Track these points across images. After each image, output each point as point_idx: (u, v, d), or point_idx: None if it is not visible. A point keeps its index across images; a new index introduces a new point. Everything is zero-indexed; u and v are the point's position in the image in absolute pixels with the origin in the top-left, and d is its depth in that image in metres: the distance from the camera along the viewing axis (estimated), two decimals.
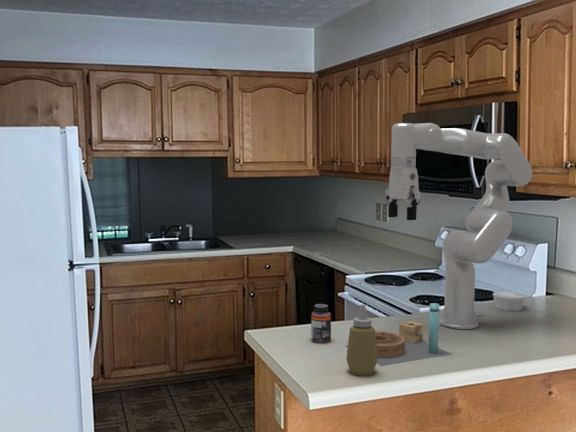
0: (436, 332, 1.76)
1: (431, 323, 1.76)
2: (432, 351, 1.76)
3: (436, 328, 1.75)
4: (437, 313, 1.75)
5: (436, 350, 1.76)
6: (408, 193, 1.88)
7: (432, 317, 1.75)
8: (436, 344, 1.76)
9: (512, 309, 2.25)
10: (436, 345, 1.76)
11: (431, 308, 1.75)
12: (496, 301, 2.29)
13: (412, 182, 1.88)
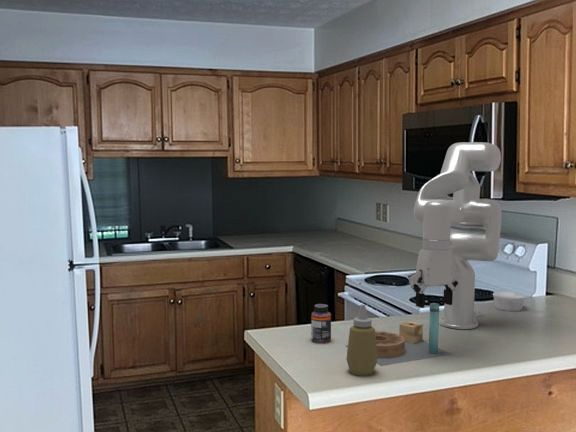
0: (436, 332, 1.76)
1: (431, 323, 1.76)
2: (432, 351, 1.76)
3: (436, 328, 1.75)
4: (437, 313, 1.75)
5: (436, 350, 1.76)
6: None
7: (432, 317, 1.75)
8: (436, 344, 1.76)
9: (512, 309, 2.25)
10: (436, 345, 1.76)
11: (431, 308, 1.75)
12: (496, 301, 2.29)
13: None
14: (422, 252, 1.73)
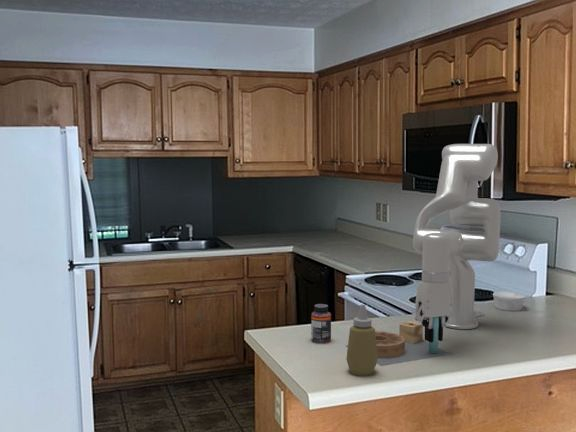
0: (437, 332, 1.76)
1: None
2: (432, 351, 1.76)
3: (436, 328, 1.75)
4: None
5: (436, 350, 1.76)
6: None
7: None
8: (436, 344, 1.76)
9: (512, 309, 2.25)
10: (436, 345, 1.76)
11: None
12: (496, 301, 2.29)
13: None
14: (421, 284, 1.74)
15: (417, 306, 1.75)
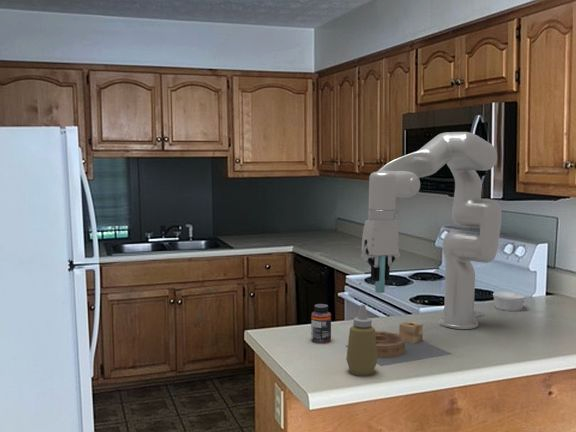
0: (383, 272, 1.75)
1: None
2: (378, 290, 1.76)
3: (382, 267, 1.75)
4: None
5: (382, 289, 1.76)
6: None
7: None
8: (382, 284, 1.76)
9: (512, 309, 2.25)
10: (382, 284, 1.76)
11: None
12: (496, 301, 2.29)
13: None
14: (367, 222, 1.74)
15: (363, 245, 1.75)
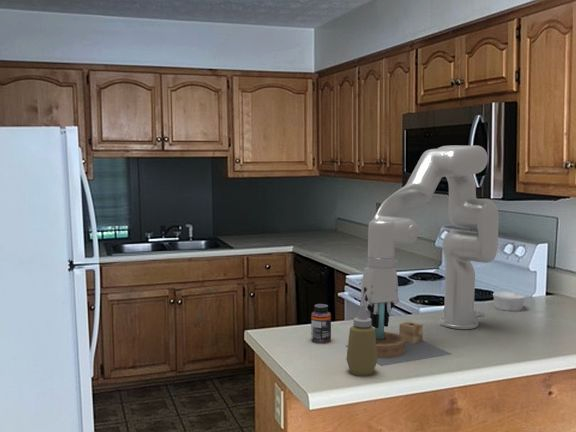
0: (382, 318, 1.77)
1: (377, 309, 1.77)
2: (378, 337, 1.77)
3: (382, 314, 1.77)
4: None
5: (382, 336, 1.77)
6: None
7: (378, 303, 1.76)
8: (381, 330, 1.77)
9: (512, 309, 2.25)
10: (382, 331, 1.77)
11: None
12: (496, 301, 2.29)
13: None
14: (366, 270, 1.75)
15: (362, 292, 1.76)
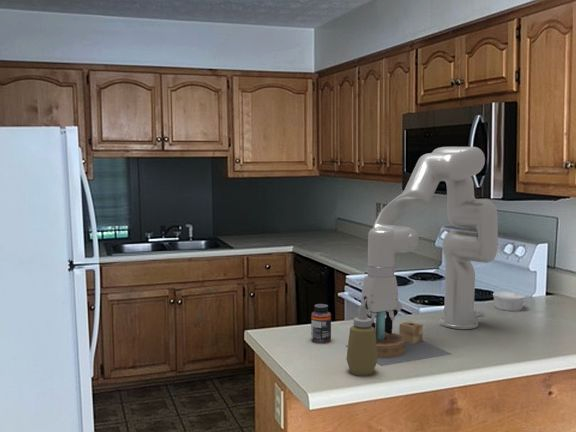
0: (382, 331, 1.77)
1: (377, 321, 1.77)
2: None
3: (382, 326, 1.77)
4: (383, 311, 1.77)
5: None
6: None
7: (378, 316, 1.77)
8: None
9: (512, 309, 2.25)
10: None
11: None
12: (496, 301, 2.29)
13: None
14: (366, 279, 1.75)
15: (363, 301, 1.76)
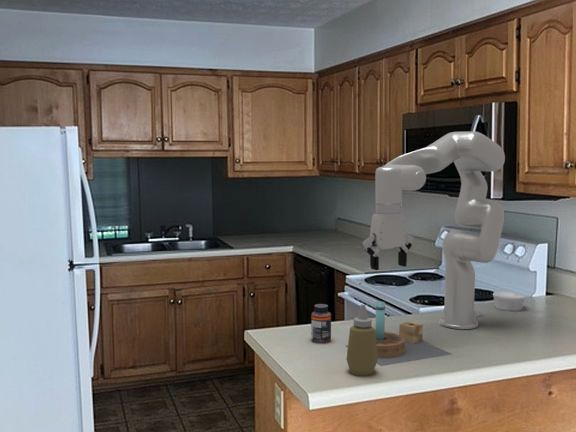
0: (382, 331, 1.77)
1: (377, 321, 1.77)
2: None
3: (382, 326, 1.77)
4: (383, 311, 1.77)
5: None
6: None
7: (378, 315, 1.77)
8: None
9: (512, 309, 2.25)
10: None
11: (377, 306, 1.77)
12: (496, 301, 2.29)
13: None
14: (374, 217, 1.78)
15: None
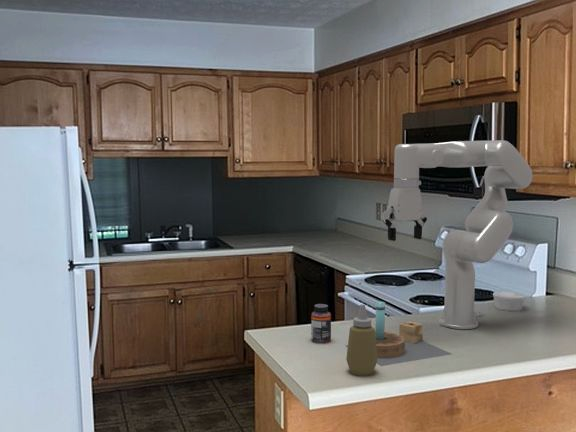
0: (382, 331, 1.77)
1: (377, 321, 1.77)
2: None
3: (382, 326, 1.77)
4: (383, 311, 1.77)
5: None
6: None
7: (378, 315, 1.77)
8: None
9: (512, 309, 2.25)
10: None
11: (377, 306, 1.77)
12: (496, 301, 2.29)
13: None
14: (393, 190, 1.90)
15: None
